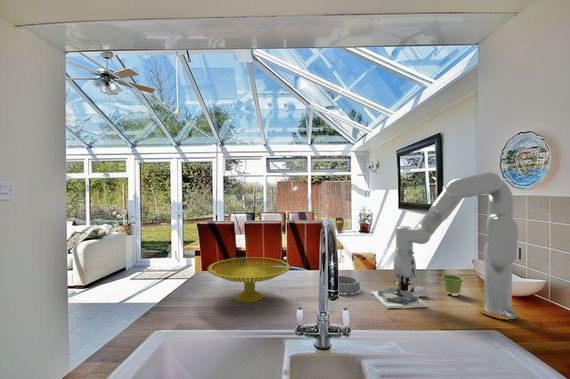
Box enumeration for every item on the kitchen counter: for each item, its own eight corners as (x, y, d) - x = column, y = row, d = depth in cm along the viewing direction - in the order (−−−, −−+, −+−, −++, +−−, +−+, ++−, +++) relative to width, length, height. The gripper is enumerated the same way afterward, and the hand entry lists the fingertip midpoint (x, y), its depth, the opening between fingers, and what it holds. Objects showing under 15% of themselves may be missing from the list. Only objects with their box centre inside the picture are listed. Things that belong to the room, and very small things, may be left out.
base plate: (427, 307, 134) (427, 305, 134) (386, 308, 132) (386, 306, 132) (407, 293, 153) (407, 290, 153) (370, 293, 151) (370, 291, 151)
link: (425, 297, 147) (425, 288, 147) (417, 297, 147) (418, 289, 147) (421, 294, 151) (421, 286, 151) (413, 294, 151) (413, 286, 151)
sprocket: (417, 294, 147) (417, 283, 147) (418, 306, 132) (418, 293, 132) (379, 289, 154) (380, 278, 154) (376, 300, 139) (376, 288, 139)
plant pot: (457, 291, 155) (458, 275, 155) (467, 298, 146) (467, 280, 146) (438, 291, 156) (439, 274, 156) (446, 297, 147) (446, 279, 147)
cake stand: (234, 322, 118) (234, 284, 118) (192, 294, 149) (193, 264, 149) (308, 299, 144) (308, 267, 144) (260, 279, 175) (260, 253, 175)
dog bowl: (340, 282, 171) (340, 272, 171) (367, 291, 157) (367, 280, 157) (319, 288, 161) (319, 278, 161) (345, 298, 146) (345, 287, 146)
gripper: (422, 254, 140) (422, 294, 140) (397, 248, 153) (397, 284, 153) (411, 256, 136) (411, 296, 136) (386, 250, 150) (386, 286, 150)
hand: (404, 290), depth 145 cm, fingers closed
